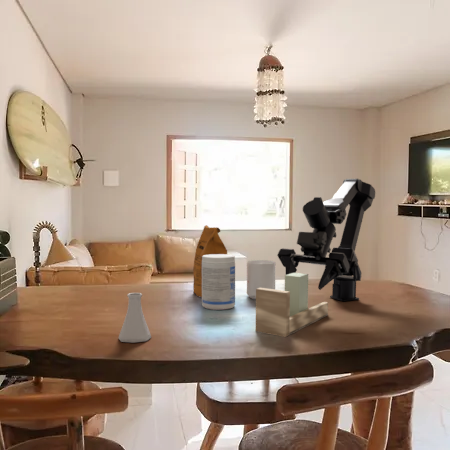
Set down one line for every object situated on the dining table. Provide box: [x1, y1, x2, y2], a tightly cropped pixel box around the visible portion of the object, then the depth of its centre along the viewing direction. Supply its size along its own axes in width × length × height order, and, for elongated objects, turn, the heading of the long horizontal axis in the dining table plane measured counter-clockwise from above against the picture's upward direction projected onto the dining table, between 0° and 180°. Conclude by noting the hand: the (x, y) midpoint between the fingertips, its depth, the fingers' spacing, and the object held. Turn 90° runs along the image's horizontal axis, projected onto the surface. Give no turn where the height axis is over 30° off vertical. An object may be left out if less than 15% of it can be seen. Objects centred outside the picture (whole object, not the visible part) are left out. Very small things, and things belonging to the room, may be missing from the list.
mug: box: [246, 259, 277, 300], centre depth 149 cm, size 12×9×11 cm
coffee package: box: [192, 225, 228, 299], centre depth 150 cm, size 10×12×22 cm
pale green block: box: [284, 272, 309, 317], centre depth 118 cm, size 5×4×12 cm
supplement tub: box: [201, 253, 236, 311], centre depth 134 cm, size 10×10×15 cm
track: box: [255, 288, 329, 338], centre depth 117 cm, size 24×8×10 cm, turn 145°
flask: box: [118, 292, 152, 344], centre depth 104 cm, size 7×7×10 cm
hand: (302, 286), depth 121 cm, fingers open, 9 cm apart
